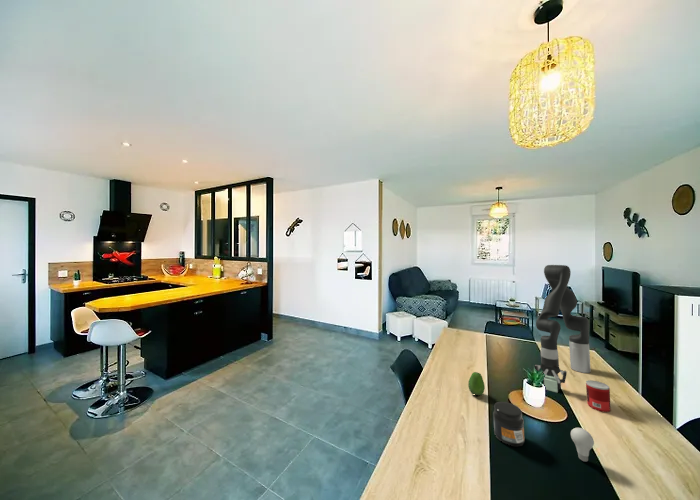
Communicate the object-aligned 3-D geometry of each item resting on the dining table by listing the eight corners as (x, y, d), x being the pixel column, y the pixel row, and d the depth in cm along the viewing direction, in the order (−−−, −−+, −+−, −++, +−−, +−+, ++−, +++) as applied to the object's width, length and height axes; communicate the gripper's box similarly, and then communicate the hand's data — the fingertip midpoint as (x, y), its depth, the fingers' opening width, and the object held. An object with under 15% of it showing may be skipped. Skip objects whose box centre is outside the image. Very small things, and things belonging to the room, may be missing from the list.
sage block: (545, 385, 139) (544, 375, 139) (558, 388, 135) (557, 378, 135) (544, 389, 135) (543, 378, 135) (557, 392, 131) (557, 382, 131)
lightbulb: (567, 454, 91) (565, 424, 92) (582, 453, 92) (580, 422, 92) (584, 468, 85) (582, 436, 86) (600, 467, 86) (598, 434, 86)
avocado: (487, 399, 127) (486, 376, 127) (470, 398, 129) (469, 375, 129) (482, 391, 135) (481, 368, 135) (466, 390, 136) (465, 368, 137)
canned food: (615, 413, 113) (614, 389, 113) (595, 411, 115) (593, 387, 115) (602, 403, 121) (600, 380, 121) (583, 402, 122) (581, 379, 123)
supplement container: (525, 452, 93) (524, 419, 94) (493, 441, 99) (492, 411, 99) (524, 434, 102) (522, 405, 102) (494, 426, 108) (493, 398, 108)
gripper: (567, 357, 133) (568, 388, 133) (534, 350, 143) (535, 380, 143) (566, 361, 128) (568, 395, 127) (532, 355, 138) (534, 385, 137)
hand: (551, 387), depth 135 cm, fingers closed on sage block, 5 cm apart
